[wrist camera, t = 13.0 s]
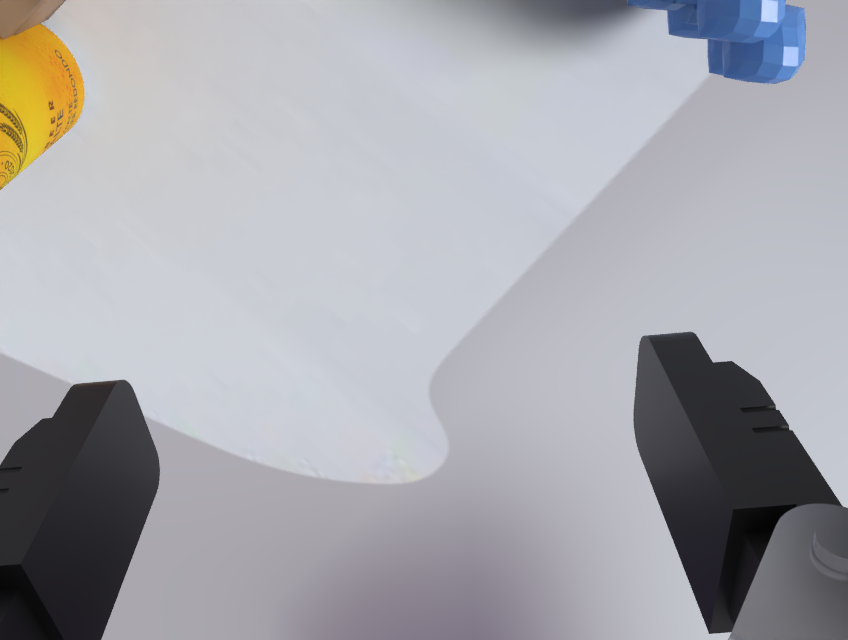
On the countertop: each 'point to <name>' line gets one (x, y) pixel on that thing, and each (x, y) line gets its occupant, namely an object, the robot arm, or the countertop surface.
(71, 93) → the beer can
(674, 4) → the grapes
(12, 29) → the square wooden tray
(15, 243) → the countertop surface
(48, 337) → the countertop surface
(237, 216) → the countertop surface
